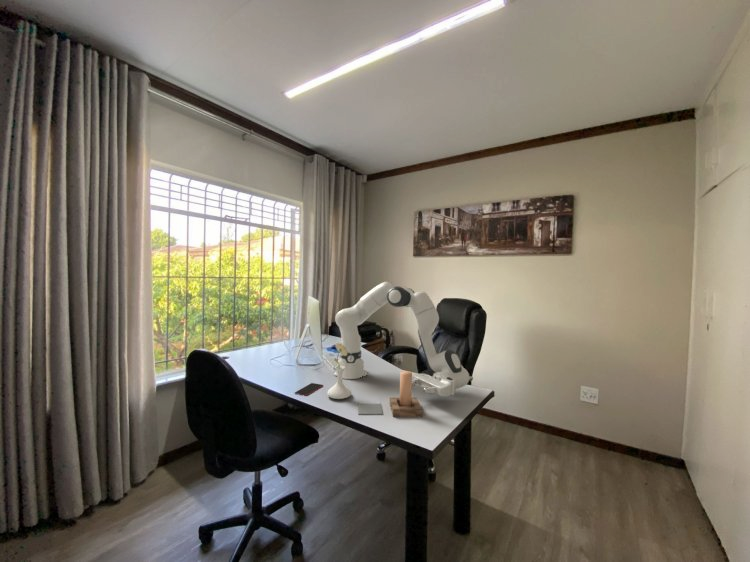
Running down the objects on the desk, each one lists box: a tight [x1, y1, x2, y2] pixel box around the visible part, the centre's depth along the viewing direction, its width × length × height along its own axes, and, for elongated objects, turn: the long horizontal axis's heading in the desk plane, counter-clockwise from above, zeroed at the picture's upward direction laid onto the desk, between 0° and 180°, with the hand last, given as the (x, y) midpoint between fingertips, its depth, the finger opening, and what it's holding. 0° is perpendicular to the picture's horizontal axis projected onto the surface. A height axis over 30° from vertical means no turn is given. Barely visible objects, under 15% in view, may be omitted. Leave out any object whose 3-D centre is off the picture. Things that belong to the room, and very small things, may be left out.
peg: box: [399, 370, 413, 407], centre depth 128 cm, size 5×5×16 cm
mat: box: [357, 403, 384, 416], centre depth 128 cm, size 10×10×1 cm
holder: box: [389, 397, 423, 418], centre depth 128 cm, size 12×12×3 cm
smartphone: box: [294, 382, 324, 397], centre depth 149 cm, size 7×1×15 cm
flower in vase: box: [326, 341, 352, 400], centre depth 142 cm, size 13×11×25 cm
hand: (417, 386), depth 132 cm, fingers open, 8 cm apart
